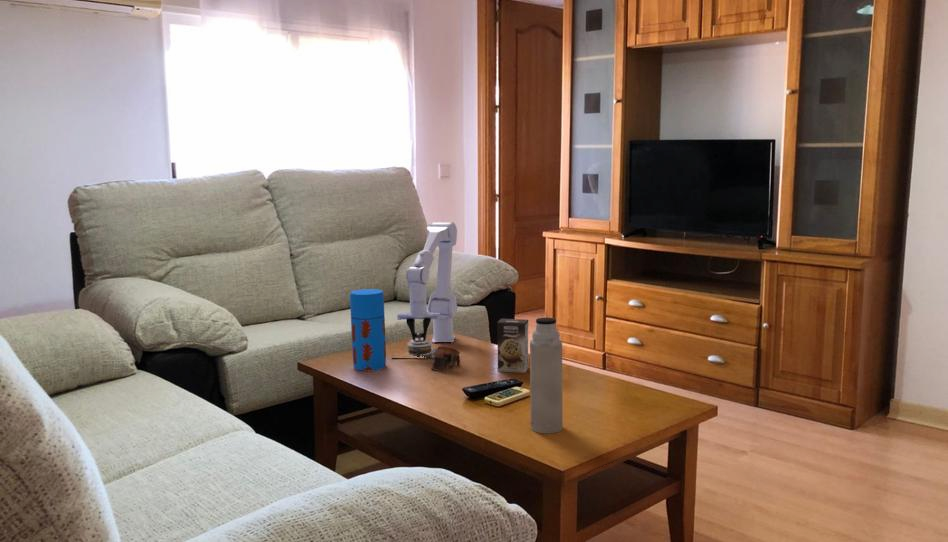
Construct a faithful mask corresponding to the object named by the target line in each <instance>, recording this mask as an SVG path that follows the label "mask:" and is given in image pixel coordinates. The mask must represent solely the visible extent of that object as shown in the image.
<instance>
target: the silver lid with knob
mask: <svg viewBox="0 0 948 542" xmlns="http://www.w3.org/2000/svg"><path fill="white" fill-rule="evenodd" d="M429 341H430V340H429V339H428V338H426V340H423V332H415V340H413V338H412V339H410V340H409V342H410V343H412V344H425V343H428V342H429Z"/></svg>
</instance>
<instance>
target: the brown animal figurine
mask: <svg viewBox="0 0 948 542" xmlns="http://www.w3.org/2000/svg"><path fill="white" fill-rule="evenodd" d="M437 348H438V350H436V352H435V353H434V354H433V355H434V358H433V362H431V370H432V369H433V370H435V371H439V372H443V371H445V372H446V368H448V370H453V369H454V368H455V365H456V366H457V367H458V366H460V365H461V359H460V358H461V356H460V351H459V350H458V349H456V348H454V347H449V346H445V345H444V346H443V345H440V346H438V347H437Z"/></svg>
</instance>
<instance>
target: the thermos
mask: <svg viewBox="0 0 948 542" xmlns="http://www.w3.org/2000/svg"><path fill="white" fill-rule="evenodd" d="M384 296H385V295H384V291H383V290H382V289H376V288H367V289H356V290H352V291H351V292H350V293H349V305H350V328H351V329H350V330H351V348H352V351H351V353H352V354H351V355H352V362H353V364H352V365H353V369H354V368H355V369H354V370H356V369H357V370H356V371H359V370H367V371H366V372H369V371H368V370H375V371H378V370H377V369H380V370H382V369H381V368H383V369H384V367H385V368H386V367H387V366H386V365H387V364H386V363H387V349H386V347H387V346H386V321H385V297H384Z"/></svg>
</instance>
